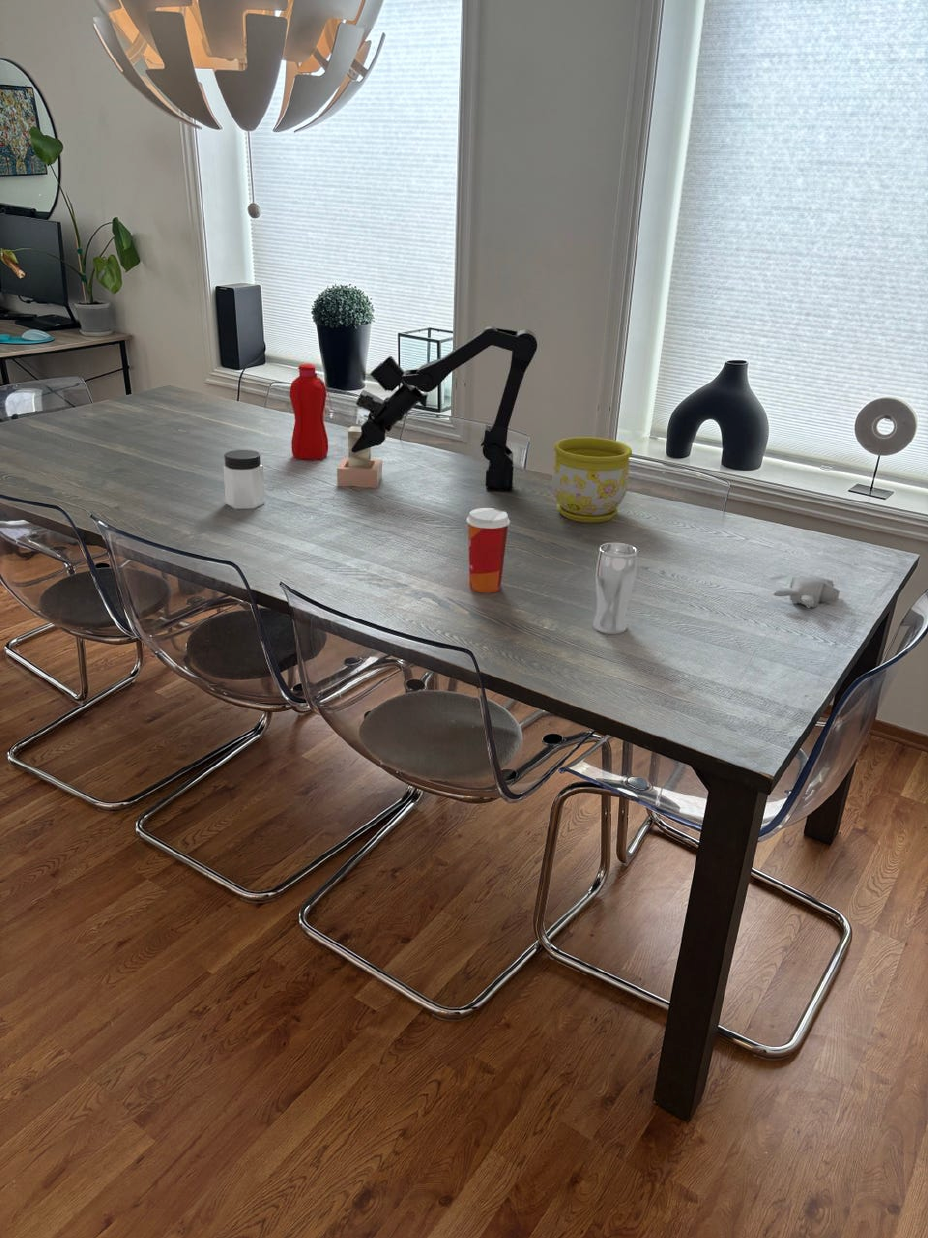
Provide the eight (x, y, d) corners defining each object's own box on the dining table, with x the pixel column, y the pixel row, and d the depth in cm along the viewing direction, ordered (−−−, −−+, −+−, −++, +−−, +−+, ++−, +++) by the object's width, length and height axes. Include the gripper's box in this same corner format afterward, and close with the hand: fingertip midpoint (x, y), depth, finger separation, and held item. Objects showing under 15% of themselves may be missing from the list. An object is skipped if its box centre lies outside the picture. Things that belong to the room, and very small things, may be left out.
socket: (381, 476, 248) (381, 459, 246) (376, 487, 239) (376, 470, 237) (343, 474, 249) (343, 457, 247) (337, 485, 240) (337, 468, 238)
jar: (224, 509, 220) (220, 459, 215) (227, 498, 228) (224, 449, 223) (263, 509, 222) (260, 459, 217) (265, 498, 229) (262, 449, 224)
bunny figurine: (850, 580, 185) (819, 593, 174) (843, 605, 186) (812, 619, 176) (804, 567, 190) (771, 578, 180) (798, 591, 192) (765, 603, 181)
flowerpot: (568, 497, 238) (574, 432, 231) (635, 511, 230) (643, 445, 223) (535, 516, 224) (540, 448, 217) (606, 532, 216) (614, 462, 209)
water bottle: (327, 462, 258) (325, 369, 247) (288, 459, 259) (284, 366, 248) (337, 453, 266) (335, 362, 255) (299, 450, 267) (295, 360, 256)
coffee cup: (481, 575, 190) (484, 503, 184) (514, 586, 186) (519, 513, 179) (454, 587, 184) (457, 514, 178) (488, 599, 180) (491, 524, 173)
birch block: (370, 474, 246) (370, 427, 240) (368, 480, 241) (367, 432, 236) (351, 473, 246) (350, 426, 240) (348, 479, 241) (347, 431, 236)
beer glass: (625, 618, 174) (634, 542, 168) (632, 635, 168) (642, 556, 162) (587, 618, 174) (595, 541, 167) (593, 635, 168) (601, 556, 161)
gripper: (380, 373, 241) (338, 414, 246) (370, 388, 224) (325, 432, 229) (411, 405, 244) (368, 445, 249) (403, 422, 227) (358, 465, 232)
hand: (355, 446), depth 240 cm, fingers open, 9 cm apart
